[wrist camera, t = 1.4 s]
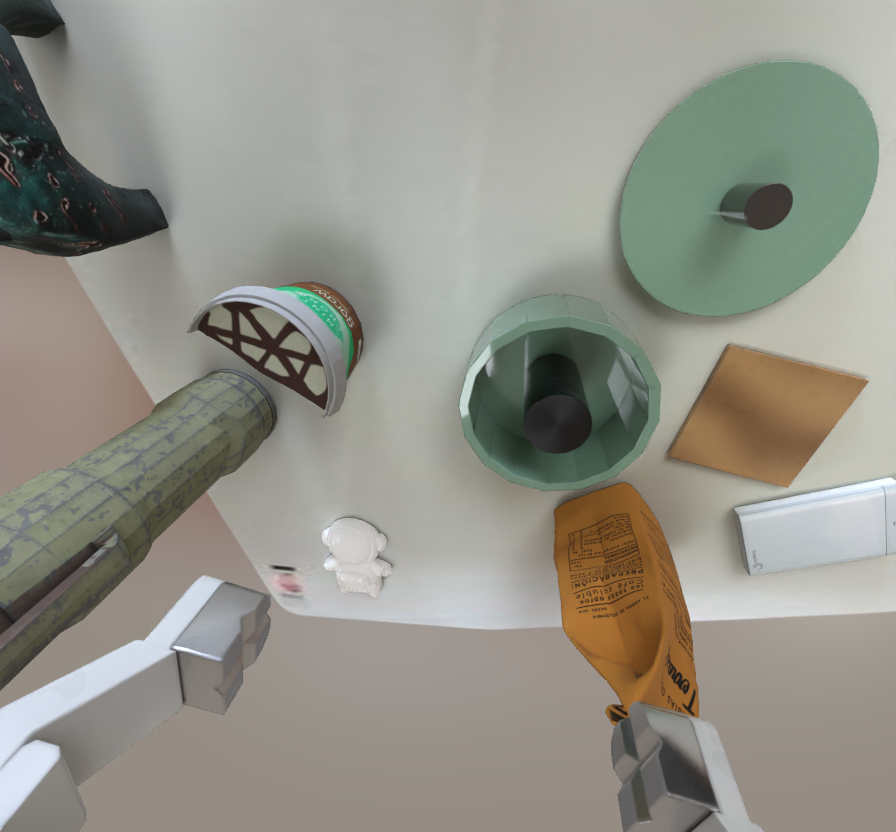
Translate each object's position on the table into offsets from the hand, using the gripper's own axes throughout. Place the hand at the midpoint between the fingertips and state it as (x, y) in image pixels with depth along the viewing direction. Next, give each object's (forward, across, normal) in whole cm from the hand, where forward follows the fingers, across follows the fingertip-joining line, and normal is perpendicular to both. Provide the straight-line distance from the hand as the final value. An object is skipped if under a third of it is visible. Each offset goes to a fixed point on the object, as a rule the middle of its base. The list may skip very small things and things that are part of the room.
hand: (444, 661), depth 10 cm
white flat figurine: (+32, +9, +33) cm, 47 cm away
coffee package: (+32, -17, +19) cm, 41 cm away
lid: (+30, -14, -12) cm, 35 cm away
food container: (+32, +16, +3) cm, 35 cm away
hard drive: (+32, -34, +12) cm, 48 cm away
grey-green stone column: (+32, +24, +16) cm, 43 cm away
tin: (+31, -6, +4) cm, 32 cm away
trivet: (+31, -24, +3) cm, 39 cm away
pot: (+31, -6, +4) cm, 32 cm away
